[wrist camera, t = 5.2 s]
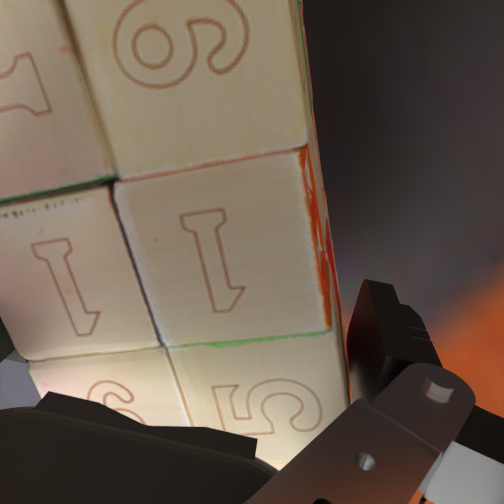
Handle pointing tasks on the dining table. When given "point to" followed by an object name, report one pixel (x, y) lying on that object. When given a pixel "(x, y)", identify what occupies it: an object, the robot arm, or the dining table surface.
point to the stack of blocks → (170, 215)
